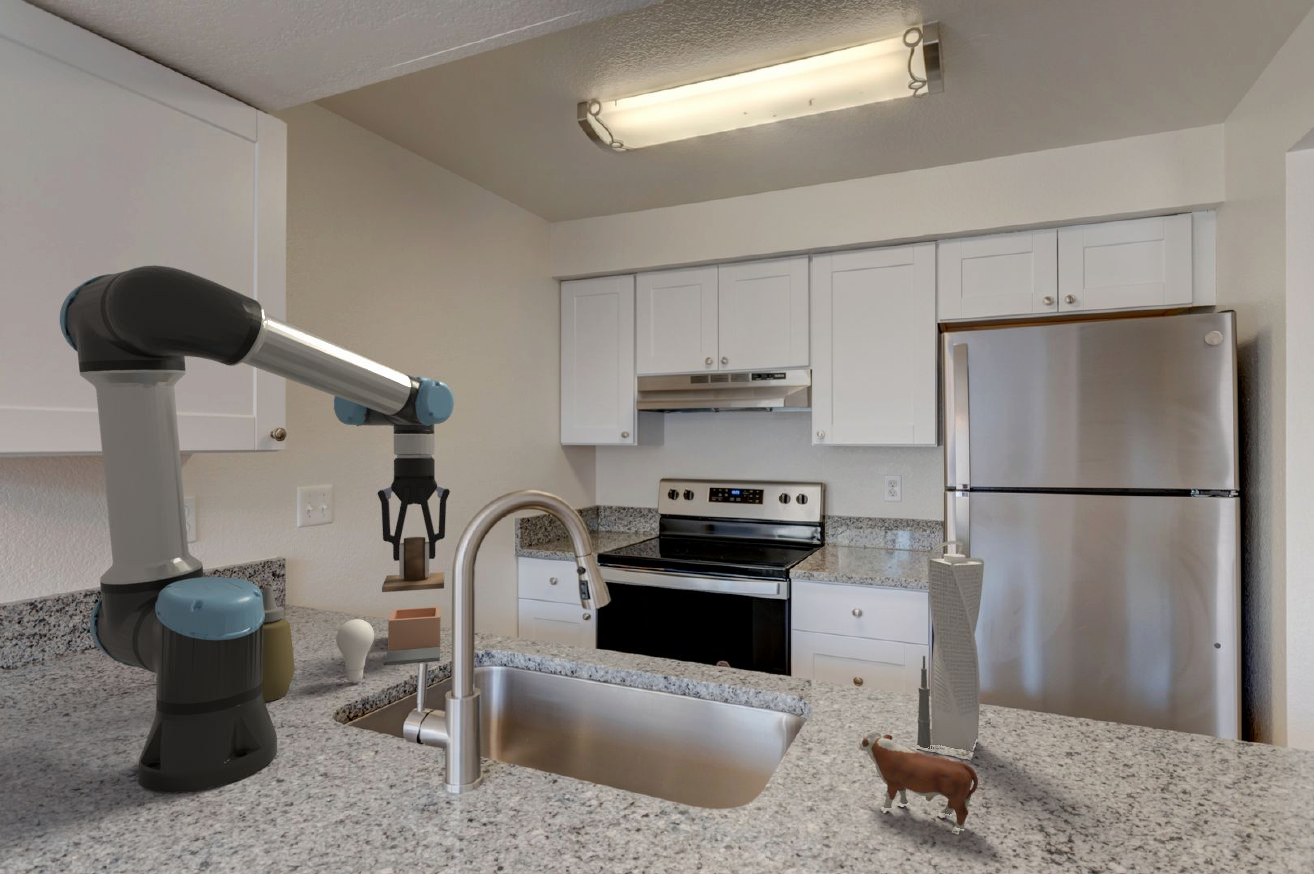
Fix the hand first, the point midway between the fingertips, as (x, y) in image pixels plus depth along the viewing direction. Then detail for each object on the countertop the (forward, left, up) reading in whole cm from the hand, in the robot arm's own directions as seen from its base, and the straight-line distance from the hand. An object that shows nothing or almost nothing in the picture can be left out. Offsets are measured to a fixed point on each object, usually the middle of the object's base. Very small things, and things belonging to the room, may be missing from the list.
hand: (414, 576), depth 136 cm
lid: (0, 0, -2) cm, 2 cm away
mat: (0, 0, -16) cm, 16 cm away
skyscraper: (+74, -62, -16) cm, 98 cm away
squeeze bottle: (-22, -15, -16) cm, 31 cm away
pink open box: (0, +11, -16) cm, 19 cm away
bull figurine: (+57, -76, -16) cm, 96 cm away
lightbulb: (-9, -12, -16) cm, 22 cm away
